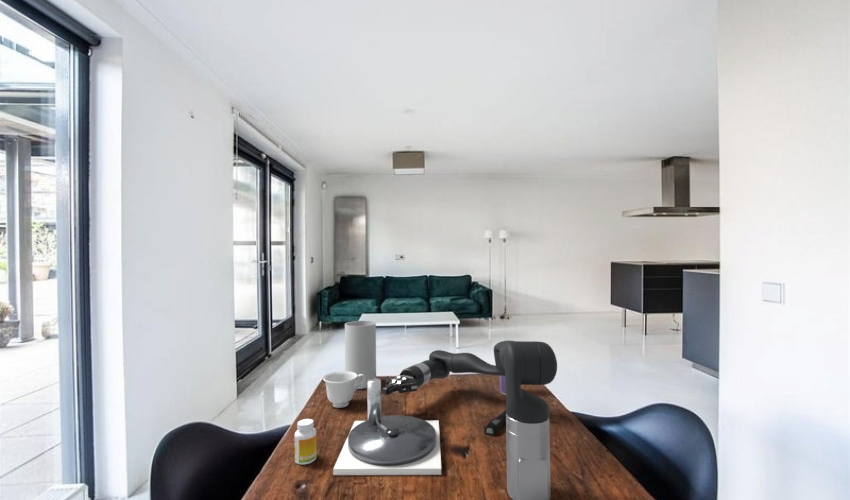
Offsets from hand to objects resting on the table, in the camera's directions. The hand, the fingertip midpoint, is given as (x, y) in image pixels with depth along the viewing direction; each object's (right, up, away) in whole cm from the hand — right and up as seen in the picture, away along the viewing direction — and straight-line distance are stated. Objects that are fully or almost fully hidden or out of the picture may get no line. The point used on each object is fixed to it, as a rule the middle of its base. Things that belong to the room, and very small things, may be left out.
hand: (384, 392), depth 115 cm
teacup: (-16, -11, +18) cm, 26 cm away
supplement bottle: (-18, -11, -18) cm, 28 cm away
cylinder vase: (-14, -11, +37) cm, 41 cm away
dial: (+4, -9, -13) cm, 16 cm away
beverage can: (+44, -11, +27) cm, 53 cm away
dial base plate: (+4, -10, -13) cm, 17 cm away
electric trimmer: (+35, -11, 0) cm, 37 cm away
